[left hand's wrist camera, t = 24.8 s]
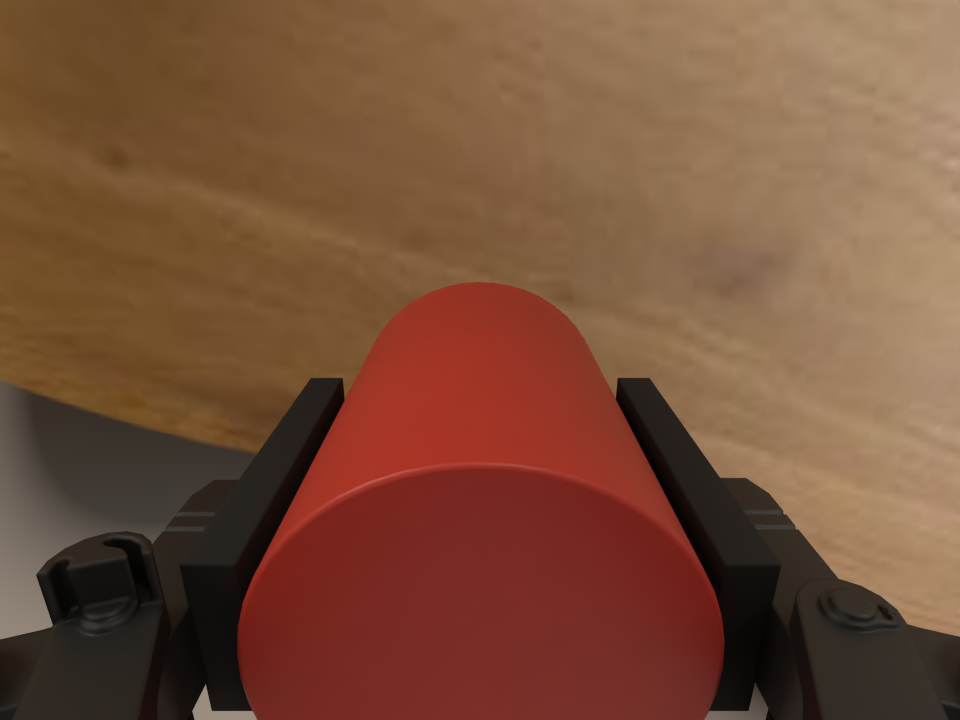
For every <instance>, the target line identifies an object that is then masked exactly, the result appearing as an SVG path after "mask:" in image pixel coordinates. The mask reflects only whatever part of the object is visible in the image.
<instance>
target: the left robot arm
mask: <svg viewBox="0 0 960 720" xmlns="http://www.w3.org/2000/svg"><path fill="white" fill-rule="evenodd" d="M344 401H345V399H344V388H343V378H311V379H310V380H309V382H308V383H307V385H306V386H305V387H304V389H303V390H302V392H301V393H300V394H299V396H298V397H297V399H296V400H295V401H294V403H293V404H292V406H291V407H290V409H289V410H288V411H287V413H286V414H285V416H284V417H283V418H282V420H281V421H280V423H279V424H278V426H277V427H276V428H275V430H274V431H273V433H272V434H271V435H270V437H269V438H268V440H267V441H266V442H265V444H264V445H263V447H262V448H261V450H260V451H259V452H258V454H257V455H256V457H255V458H254V459H253V461H252V462H251V464H250V465H249V467H248V468H247V469H246V471H245V472H244V474H243V475H242V476H241V478H240V479H239V480H214V481H213V482H211V483H210V484H208V485H207V486H205V487H204V488H202V489H201V490H199V491H198V492H196V493H195V494H193V495H192V496H191V497H190V498H189V500H188V501H187V502H186V503H185V505H184V506H183V507H182V508H181V509H180V511H179V512H178V516H177V517H174V518H173V519H172V521H171V522H170V523H169V524H168V526H167V527H166V531H165V532H162V533H161V534H160V535H159V537H158V538H157V539H156V540H155V542H154V543H153V544H151V541H150V540H149V539H147V538H146V537H145V536H144V535H142V534H138V533H133V532H127V531H126V532H114V533H106V534H102V535H98V536H95V537H91V538H88V539H85V540H82V541H80V542H78V543H76V544H74V545H72V546H70V547H68V548H65V549H64V550H62V551H61V552H59V553H58V554H57V555H55V556H54V557H52V558H51V559H50V560H48V561H47V562H46V563H45V565H44V566H43V567H42V568H41V569H40V571H39V572H38V573H37V574H36V576H37V579H38V582H39V585H40V588H41V591H42V594H43V597H44V599H45V603H46V606H47V609H48V611H49V614H50V618H51V620H52V623H53V626H52V627H51V628H47V629H44V630H40V631H36V632H31V633H27V634H23V635H18V636H14V637H10V638H5V639H1V640H0V720H194V716H193V713H192V710H193V708H194V706H195V704H196V702H197V700H198V698H199V696H200V694H201V692H202V690H203V688H204V686H205V684H206V687H207V691H208V695H209V700H210V704H211V709H212V711H253V710H252V708H251V706H250V704H249V702H248V700H247V697H246V694H245V691H244V687H243V684H242V681H241V677H240V671H239V664H238V657H237V638H238V623H239V619H240V614H241V609H242V604H243V601H244V598H245V596H246V593H247V591H248V588H249V586H250V583H251V581H252V578H253V576H254V574H255V572H256V570H257V568H258V567H259V565H260V563H261V561H262V559H263V557H264V555H265V553H266V551H267V549H268V547H269V545H270V543H271V541H272V540H273V538H274V536H275V534H276V532H277V530H278V528H279V526H280V524H281V522H282V520H283V518H284V516H285V515H286V513H287V511H288V509H289V507H290V505H291V503H292V501H293V499H294V497H295V495H296V493H297V491H298V490H299V488H300V486H301V484H302V482H303V480H304V478H305V476H306V474H307V472H308V470H309V468H310V466H311V464H312V463H313V461H314V459H315V457H316V455H317V453H318V451H319V449H320V447H321V445H322V443H323V441H324V439H325V438H326V436H327V434H328V432H329V430H330V428H331V426H332V424H333V422H334V420H335V418H336V416H337V414H338V412H339V411H340V409H341V407H342V405H343V403H344ZM616 401H617V403H618V405H619V407H620V409H621V411H622V413H623V414H624V416H625V418H626V420H627V422H628V424H629V426H630V428H631V430H632V432H633V434H634V436H635V438H636V439H637V441H638V443H639V445H640V447H641V449H642V451H643V453H644V455H645V457H646V459H647V461H648V463H649V465H650V466H651V468H652V470H653V472H654V474H655V476H656V478H657V480H658V482H659V484H660V486H661V488H662V490H663V491H664V493H665V495H666V497H667V499H668V501H669V503H670V505H671V507H672V509H673V511H674V513H675V515H676V517H677V518H678V520H679V522H680V524H681V526H682V528H683V530H684V532H685V534H686V536H687V538H688V540H689V542H690V543H691V545H692V547H693V549H694V551H695V553H696V555H697V557H698V559H699V561H700V563H701V565H702V567H703V569H704V571H705V573H706V575H707V577H708V579H709V581H710V583H711V585H712V587H713V589H714V591H715V594H716V598H717V601H718V605H719V608H720V612H721V615H722V622H723V632H724V656H723V669H722V673H721V677H720V682H719V686H718V690H717V693H716V695H715V698H714V700H713V702H712V705H711V707H710V709H709V711H748V710H749V706H750V702H751V697H752V693H753V689H754V684H755V683H756V685H757V687H758V689H759V691H760V693H761V694H762V696H763V698H764V700H765V702H766V704H767V706H768V713H767V716H766V720H960V637H958V636H953V635H949V634H945V633H940V632H936V631H931V630H927V629H923V628H918V627H915V626H911V625H908V624H907V623H906V622H905V620H904V619H903V617H902V616H901V615H900V613H899V612H898V610H897V609H896V608H894V607H893V606H892V605H891V604H889V603H888V602H887V601H886V600H885V599H883V598H882V597H881V596H879V595H877V594H875V593H873V592H872V591H870V590H868V589H866V588H864V587H862V586H860V585H857V584H853V583H850V582H847V581H844V580H841V579H838V578H837V576H836V575H835V574H834V573H833V572H832V570H831V569H830V568H829V567H828V565H827V564H826V563H825V562H824V560H823V559H822V558H821V557H820V556H819V554H818V553H817V552H816V551H815V549H814V548H813V547H812V546H811V545H810V543H809V542H808V541H807V540H806V538H805V537H804V536H803V535H802V533H801V532H800V531H799V530H796V529H795V525H794V524H793V522H792V521H791V520H790V519H789V518H788V516H787V515H784V514H783V510H782V509H781V508H780V506H779V505H778V504H777V503H776V502H775V500H774V499H773V498H772V497H771V495H770V494H769V493H768V492H766V491H764V490H763V489H761V488H760V487H758V486H757V485H755V484H754V483H752V482H751V481H749V480H748V479H746V478H720V477H719V476H718V474H717V473H716V472H715V470H714V469H713V467H712V466H711V464H710V463H709V462H708V460H707V459H706V457H705V456H704V455H703V453H702V452H701V450H700V449H699V448H698V446H697V445H696V443H695V442H694V440H693V439H692V438H691V436H690V435H689V433H688V432H687V431H686V429H685V428H684V426H683V425H682V423H681V422H680V421H679V419H678V418H677V416H676V415H675V414H674V412H673V411H672V409H671V408H670V407H669V405H668V404H667V402H666V401H665V399H664V398H663V397H662V395H661V394H660V392H659V391H658V390H657V388H656V387H655V385H654V384H653V382H652V381H651V380H650V378H618V382H617V393H616Z"/></svg>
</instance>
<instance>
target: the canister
mask: <svg viewBox="0 0 960 720" xmlns="http://www.w3.org/2000/svg"><path fill="white" fill-rule="evenodd" d="M723 656H724V632H723V622H722V615H721V612H720V608H719V605H718V601H717V598H716V594H715V591H714V589H713V587H712V585H711V583H710V581H709V579H708V577H707V575H706V573H705V571H704V569H703V567H702V565H701V563H700V561H699V559H698V557H697V555H696V553H695V551H694V549H693V547H692V545H691V543H690V542H689V540H688V538H687V536H686V534H685V532H684V530H683V528H682V526H681V524H680V522H679V520H678V518H677V517H676V515H675V513H674V511H673V509H672V507H671V505H670V503H669V501H668V499H667V497H666V495H665V493H664V491H663V490H662V488H661V486H660V484H659V482H658V480H657V478H656V476H655V474H654V472H653V470H652V468H651V466H650V465H649V463H648V461H647V459H646V457H645V455H644V453H643V451H642V449H641V447H640V445H639V443H638V441H637V439H636V438H635V436H634V434H633V432H632V430H631V428H630V426H629V424H628V422H627V420H626V418H625V416H624V414H623V413H622V411H621V409H620V407H619V405H618V403H617V401H616V399H615V397H614V395H613V393H612V391H611V389H610V387H609V386H608V384H607V382H606V380H605V378H604V376H603V374H602V372H601V370H600V368H599V366H598V364H597V362H596V361H595V359H594V357H593V355H592V353H591V351H590V349H589V347H588V345H587V343H586V341H585V339H584V338H583V336H582V335H581V333H580V332H579V331H578V329H577V328H576V326H575V325H574V324H573V323H572V322H571V321H570V320H569V319H568V318H567V316H566V315H564V314H563V313H562V312H561V311H560V310H558V309H557V308H556V307H555V306H554V305H552V304H550V303H549V302H547V301H546V300H544V299H542V298H541V297H539V296H537V295H534V294H532V293H530V292H528V291H526V290H522V289H519V288H516V287H513V286H509V285H503V284H497V283H481V282H475V283H465V284H458V285H453V286H449V287H444V288H442V289H439V290H436V291H434V292H431V293H428V294H427V295H425V296H423V297H421V298H419V299H417V300H415V301H414V302H412V303H411V304H409V305H408V306H407V307H405V308H404V309H402V310H401V311H400V312H399V313H398V314H397V315H396V316H395V317H394V318H393V319H392V320H391V321H390V322H389V323H388V324H387V326H386V327H385V328H384V329H383V331H382V332H381V333H380V335H379V337H378V338H377V340H376V342H375V343H374V345H373V347H372V349H371V351H370V353H369V355H368V357H367V359H366V361H365V362H364V364H363V366H362V368H361V370H360V372H359V374H358V376H357V378H356V380H355V382H354V384H353V386H352V387H351V389H350V391H349V393H348V395H347V397H346V399H345V401H344V403H343V405H342V407H341V409H340V411H339V412H338V414H337V416H336V418H335V420H334V422H333V424H332V426H331V428H330V430H329V432H328V434H327V436H326V438H325V439H324V441H323V443H322V445H321V447H320V449H319V451H318V453H317V455H316V457H315V459H314V461H313V463H312V464H311V466H310V468H309V470H308V472H307V474H306V476H305V478H304V480H303V482H302V484H301V486H300V488H299V490H298V491H297V493H296V495H295V497H294V499H293V501H292V503H291V505H290V507H289V509H288V511H287V513H286V515H285V516H284V518H283V520H282V522H281V524H280V526H279V528H278V530H277V532H276V534H275V536H274V538H273V540H272V541H271V543H270V545H269V547H268V549H267V551H266V553H265V555H264V557H263V559H262V561H261V563H260V565H259V567H258V568H257V570H256V572H255V574H254V576H253V578H252V581H251V583H250V586H249V588H248V591H247V593H246V596H245V598H244V601H243V604H242V609H241V614H240V619H239V623H238V638H237V657H238V664H239V671H240V677H241V681H242V684H243V687H244V691H245V694H246V697H247V700H248V702H249V704H250V706H251V708H252V710H253V712H254V714H255V716H256V718H257V720H704V719H705V717H706V716H707V714H708V712H709V709H710V707H711V705H712V702H713V700H714V698H715V695H716V693H717V690H718V686H719V682H720V677H721V673H722V669H723Z"/></svg>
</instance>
